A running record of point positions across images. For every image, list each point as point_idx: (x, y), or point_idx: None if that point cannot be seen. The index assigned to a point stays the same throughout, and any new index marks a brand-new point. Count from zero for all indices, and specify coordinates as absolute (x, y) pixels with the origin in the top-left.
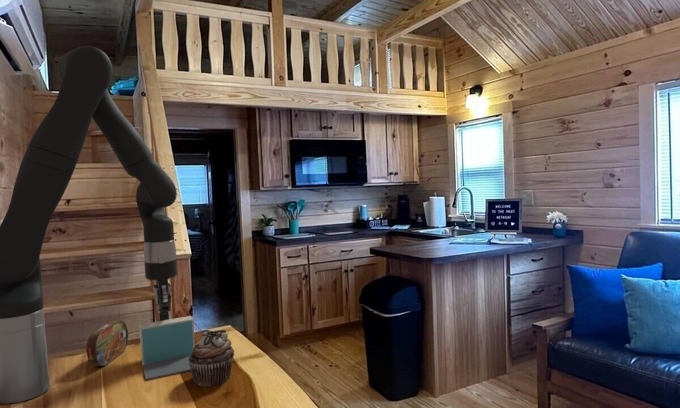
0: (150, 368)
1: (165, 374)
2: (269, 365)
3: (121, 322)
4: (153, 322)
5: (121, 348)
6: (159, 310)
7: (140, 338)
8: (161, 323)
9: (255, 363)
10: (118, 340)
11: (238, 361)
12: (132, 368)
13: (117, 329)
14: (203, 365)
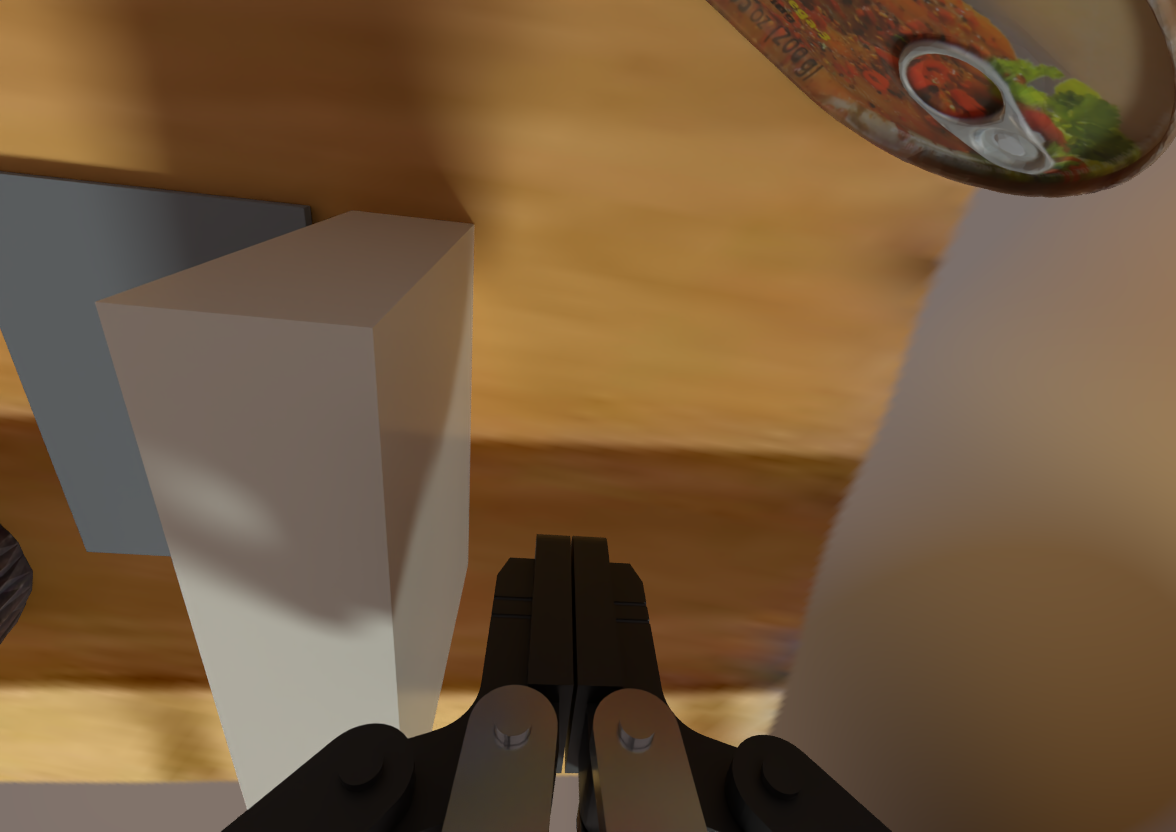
0: (185, 250)
1: (3, 327)
2: (22, 771)
3: (1172, 105)
4: (366, 527)
5: (852, 88)
6: (339, 770)
7: (360, 265)
8: (239, 600)
9: (74, 740)
10: (884, 38)
11: (137, 695)
12: (318, 112)
13: (1009, 6)
14: None
